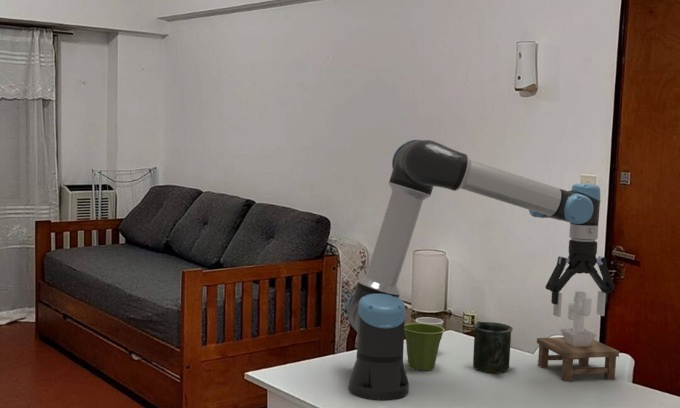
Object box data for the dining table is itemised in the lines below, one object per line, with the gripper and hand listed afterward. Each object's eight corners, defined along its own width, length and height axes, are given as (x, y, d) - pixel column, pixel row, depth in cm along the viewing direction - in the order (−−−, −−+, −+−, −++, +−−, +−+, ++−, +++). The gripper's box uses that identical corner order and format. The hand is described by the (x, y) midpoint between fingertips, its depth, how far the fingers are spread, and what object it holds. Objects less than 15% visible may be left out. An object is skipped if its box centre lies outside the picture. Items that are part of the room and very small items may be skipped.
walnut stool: (564, 382, 203) (566, 353, 203) (535, 365, 219) (537, 337, 218) (617, 380, 207) (619, 351, 206) (585, 363, 223) (586, 336, 222)
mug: (505, 363, 220) (507, 322, 219) (517, 378, 205) (520, 335, 204) (468, 362, 220) (470, 321, 219) (477, 377, 205) (479, 333, 204)
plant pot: (433, 376, 205) (435, 335, 204) (393, 368, 210) (395, 328, 210) (449, 366, 215) (451, 326, 214) (411, 359, 221) (412, 320, 220)
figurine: (580, 340, 217) (583, 288, 216) (598, 348, 208) (601, 294, 207) (557, 340, 216) (560, 288, 215) (573, 349, 207) (577, 295, 206)
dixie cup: (446, 352, 229) (447, 319, 229) (435, 358, 222) (436, 324, 221) (421, 347, 234) (422, 315, 233) (409, 353, 226) (410, 320, 226)
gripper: (549, 241, 204) (544, 319, 205) (631, 241, 209) (626, 317, 211) (535, 237, 211) (531, 313, 212) (615, 238, 217) (610, 311, 218)
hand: (578, 315), depth 212 cm, fingers open, 13 cm apart
